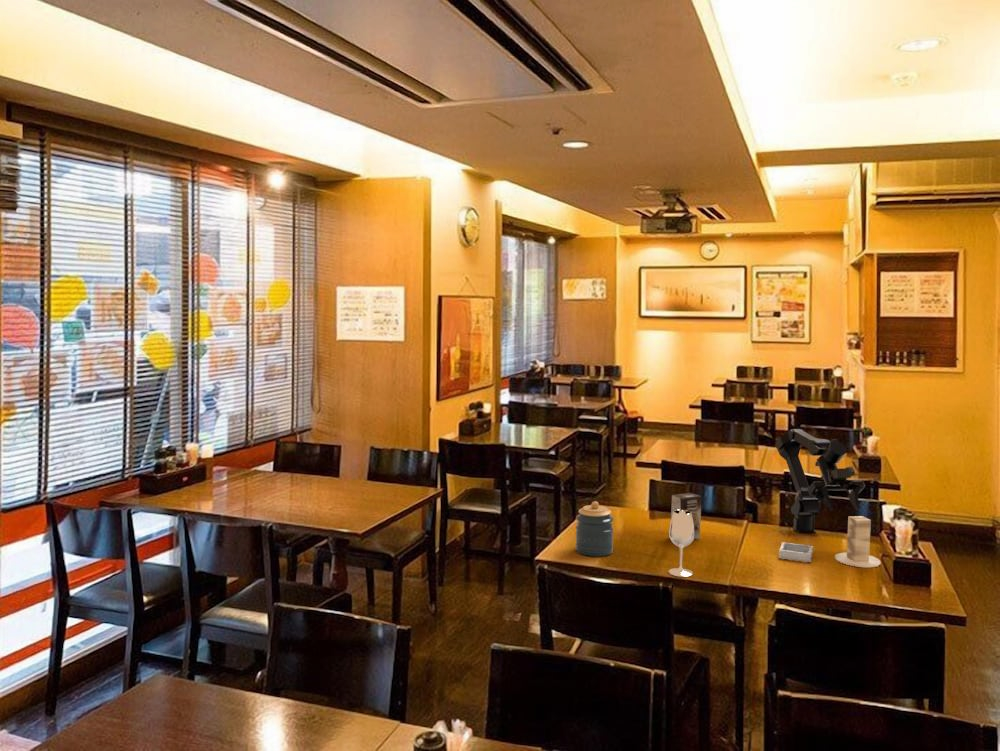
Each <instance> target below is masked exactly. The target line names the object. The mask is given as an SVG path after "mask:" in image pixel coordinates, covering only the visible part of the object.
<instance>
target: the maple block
mask: <svg viewBox="0 0 1000 751" xmlns="http://www.w3.org/2000/svg"><path fill="white" fill-rule="evenodd" d="M847 519H848V520H847V539H846V552H847V556H846V557H847V558H849V559H851V560H853V561H855V562H860V561H869V555H870V549H871V548H870V546H871V544H870V543H871V525H872V520H871V519H869V518H867V517H865V516H862V515H859V516H858V515H857V516H856V515H855V516H850V515H849V516H848V518H847Z"/></svg>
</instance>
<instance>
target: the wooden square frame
mask: <svg viewBox="0 0 1000 751" xmlns="http://www.w3.org/2000/svg"><path fill="white" fill-rule="evenodd" d="M812 554H814V546H813V545H809V544H808V545H807V544H800V543H792V542H785V541H782V542H781V545H780V548H779V550H778V559H779V558H781V559H780V560H784V559H788V560H787V561H792V560H795V561H794V562H799V561H802V562H801V563H807V562H811V563H812V559H813V555H812ZM811 558H812V559H811Z"/></svg>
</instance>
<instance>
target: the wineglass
mask: <svg viewBox="0 0 1000 751" xmlns="http://www.w3.org/2000/svg"><path fill="white" fill-rule="evenodd" d="M668 535H669V539H670V541H671V542H672V543H673V544H674V545H675V546H676V547H678V548H679V567H676V568H675V567H673V568H670V569H669V570H668V573H669V574H670V575H671V576H673V577H679V578H680V577H681V578H687V577H691V576H693V574H694V571H692V570H690V569H687V568H683V550H684V548H686V547H688V546H689V545H691V544H692V543H693V541H694V540H693V539H694V525H693V519H692V514H691V512H690V511H688V510H675V511H674V512H673V515H672V519H671V518H670V525H669V532H668Z"/></svg>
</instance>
